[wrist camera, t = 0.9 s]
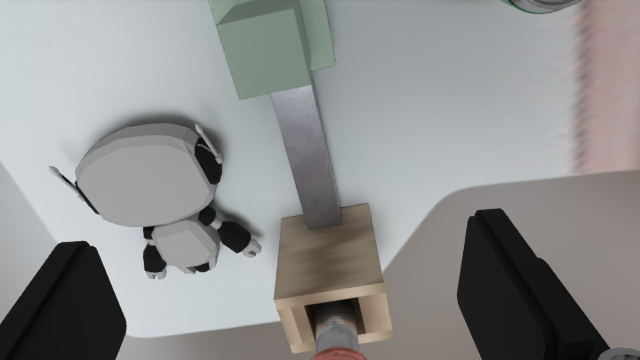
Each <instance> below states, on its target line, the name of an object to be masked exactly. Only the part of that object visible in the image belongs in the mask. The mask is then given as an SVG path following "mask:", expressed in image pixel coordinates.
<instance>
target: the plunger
mask: <svg viewBox="0 0 640 360" xmlns="http://www.w3.org/2000/svg"><path fill="white" fill-rule="evenodd" d="M311 360H367V359H366V358H365V357H364V356H363V355H362V354H361V353H360V352H359V344H358V335H357V325H356V316H355V307H354V304H353V303H352V301H350V300H349V299H342V300H336V301H329V302H323V303H318V304H317V306H316V355H315V356H314V357H313V358H312V359H311Z"/></svg>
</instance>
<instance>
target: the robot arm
mask: <svg viewBox="0 0 640 360" xmlns="http://www.w3.org/2000/svg"><path fill="white" fill-rule="evenodd" d="M457 299H458V304H459V307H460V310H461V312H462V314H463V317H464V319H465V321H466V324H467V326H468V328H469V331H470V333H471V335H472V338H473V340H474V342H475V345H476V347H477V349H478V351H479V354H480V356H481V358H482V360H640V351H637V350H634V349H629V348H613V349H610V347H609V346H608V345H607V343H606V342H605V341H604V339H603V338H602V337H601V335H600V334H599V333H598V331H597V330H596V329H595V327H594V326H593V324H592V323H591V322H590V321H589V319H588V318H587V316H586V315H585V314H584V312H583V311H582V310H581V308H580V307H579V306H578V304H577V303H576V302H575V300H574V299H573V297H572V296H571V295H570V293H569V292H568V291H567V289H566V288H565V287H564V285H563V284H562V283H561V281H560V280H559V279H558V277H557V276H556V274H555V273H554V272H553V271H552V269H551V268H550V266H549V265H548V264H547V263H546V262H545V261H544V260H543V259H541V258H537V257H536V255H535V254H534V252H533V251H532V249H531V248H530V247H529V245H528V244H527V243H526V241H525V240H524V238H523V237H522V236H521V234H520V233H519V232H518V230H517V229H516V227H515V226H514V225H513V223H512V222H511V220H510V219H509V218H508V216H507V215H506V214H505V212H504V211H503V210H502V209H500V208H498V209H485V210H477V211H476V213H475V216H471V217H469V219H468V224H467V230H466V237H465V244H464V250H463V257H462V264H461V271H460V278H459V284H458V290H457ZM126 326H127V325H126V319H125V317H124V314H123V312H122V310H121V307H120V305H119V302H118V300H117V297H116V295H115V292H114V290H113V288H112V285H111V283H110V280H109V278H108V275H107V273H106V270H105V268H104V266H103V263H102V261H101V258H100V256H99V253H98V251H97V249H96V248H95V247H94V246H90V245H89V243H87V242H86V241H74V242H61V243H59V244H58V245H57V246H56V247H55V248H54V250H53V251H52V252H51V254H50V255H49V257H48V258H47V259H46V261H45V262H44V264H43V265H42V266H41V268H40V269H39V271H38V272H37V273H36V275H35V276H34V278H33V279H32V281H31V282H30V283H29V285H28V286H27V287H26V289H25V290H24V292H23V293H22V295H21V296H20V297H19V299H18V300H17V301H16V303H15V304H14V306H13V307H12V308H11V310H10V311H9V313H8V314H7V315H6V317H5V318H4V320H3V321H2V323H1V324H0V360H115V359H116V357H117V354H118V352H119V349H120V347H121V344H122V342H123V339H124V336H125V334H126Z"/></svg>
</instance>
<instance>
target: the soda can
mask: <svg viewBox="0 0 640 360" xmlns="http://www.w3.org/2000/svg"><path fill="white" fill-rule="evenodd" d="M499 1H502V2H504V3H506V4H508V5H511V6H513V7H515V8H517V9H520V10H522V11H524V12H528V13H532V14H546V13H552V12H555V11H559V10H561V9H563V8H566V7H569V6H571V5H573V4H576V3H578V2H579V1H581V0H499Z"/></svg>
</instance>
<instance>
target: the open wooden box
mask: <svg viewBox="0 0 640 360" xmlns="http://www.w3.org/2000/svg"><path fill="white" fill-rule="evenodd" d="M341 214H342V224H343V225H338V226H332V227H326V228H320V229H315V230H309V231H308V228H307V224H306V220H305V217H304V215H299V216H293V217H288V218H282V223H281V233H280V242H279V252H278V262H277V272H276V281H275V291H274V303H275V305H276V308H277V311H278V314H279V316H280V319H281V322H282V325H283V327H284V330H285V333H286V336H287V338H288V341H289V344H290V347H291V349H292V352H293V353H299V352H306V351H312V350H316V306H317V304H318V303H323V302H329V301H336V300H342V299H349V300H350V301H352V303H353V304H354V307H355V316H356V325H357V335H358V344H360V343H367V342H373V341H380V340H387V339H393V338H394V337H393V332H392V327H391V321H390V315H389V309H388V304H387V298H386V293H385V287H384V281H383V276H382V271H381V266H380V261H379V256H378V251H377V245H376V240H375V235H374V230H373V225H372V220H371V215H370V209H369V204H368V203H367V204H361V205H355V206H350V207H344V208H341Z"/></svg>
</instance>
